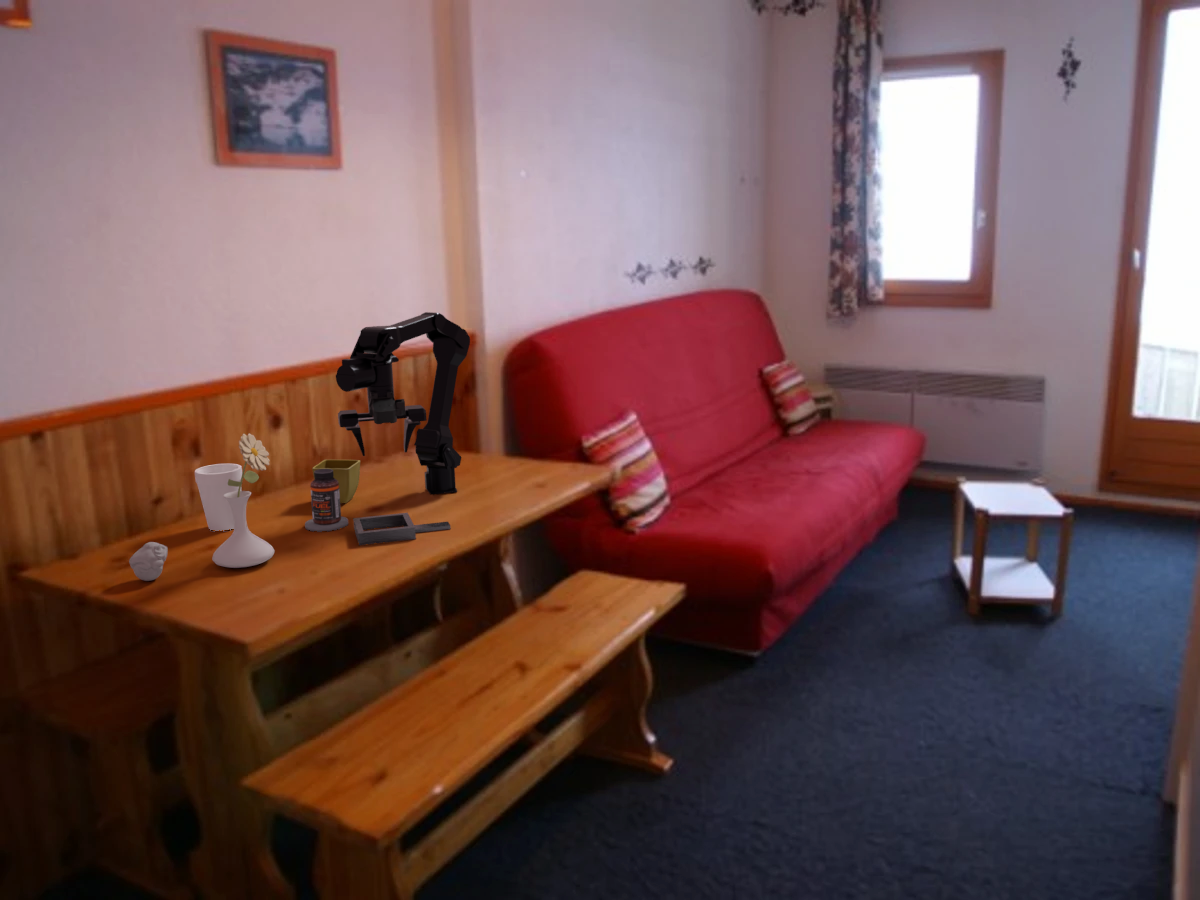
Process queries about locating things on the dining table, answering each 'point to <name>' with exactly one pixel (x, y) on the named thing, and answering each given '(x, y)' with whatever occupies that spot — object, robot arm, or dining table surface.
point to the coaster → (319, 528)
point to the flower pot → (343, 476)
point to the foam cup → (217, 493)
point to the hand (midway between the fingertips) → (384, 453)
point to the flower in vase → (244, 514)
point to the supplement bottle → (325, 498)
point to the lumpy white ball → (149, 561)
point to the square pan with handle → (391, 533)
